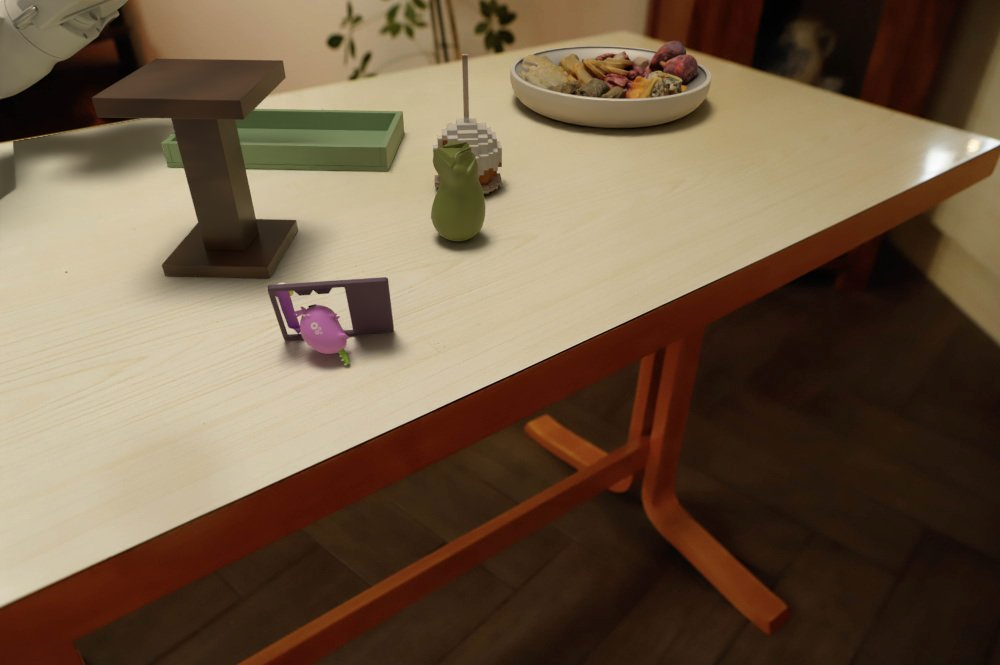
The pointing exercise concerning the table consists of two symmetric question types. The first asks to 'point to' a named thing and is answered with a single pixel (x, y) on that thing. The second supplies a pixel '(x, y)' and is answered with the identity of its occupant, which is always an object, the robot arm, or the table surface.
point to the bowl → (611, 84)
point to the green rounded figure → (457, 193)
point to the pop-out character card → (322, 323)
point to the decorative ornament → (474, 141)
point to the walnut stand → (209, 157)
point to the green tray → (313, 140)
